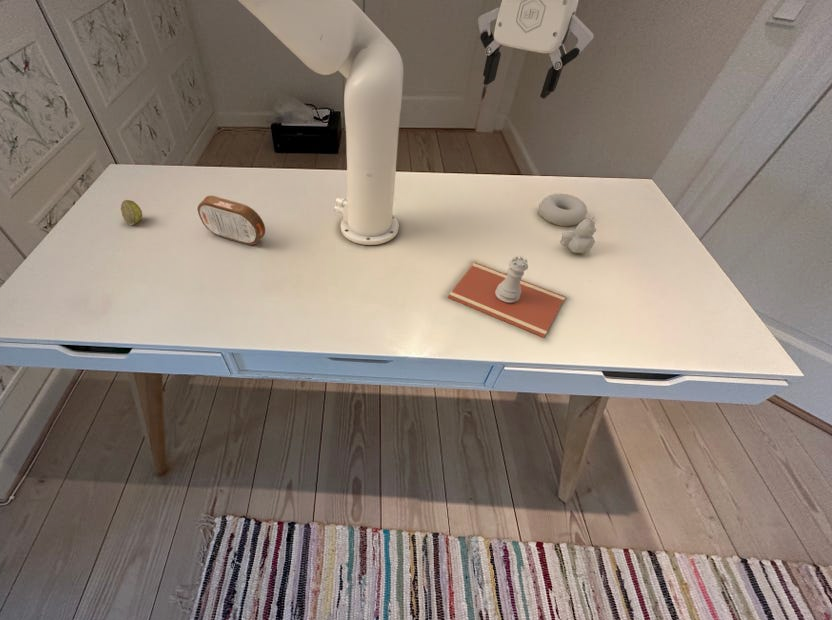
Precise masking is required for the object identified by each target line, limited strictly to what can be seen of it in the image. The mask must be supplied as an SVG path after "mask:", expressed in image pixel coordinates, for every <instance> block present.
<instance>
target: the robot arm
mask: <svg viewBox="0 0 832 620" xmlns="http://www.w3.org/2000/svg"><path fill="white" fill-rule="evenodd" d="M237 1H238V2H239V3H240V4H241V5H242V6H243V7H244V8H245V9H246V10H248V11H249V12H250V13H251V14H252V15H253V16H254V17H255V18H256V19H257V20H259V21H260V22H261V23H262V25H264V27H265V28H267V30H268V31H269V32H270V33H271V34H272V35H273V36H274V37H276V38H277V39H278V40H279V41H280V43H282V44H283V45H284V46H285V47H286V48H287V49H288V50H289V51H291V53H292V54H294V55H295V56H296V57H297V58H298V59H299V60H300V61H301V62H302V64H304V65H305V66H306V67H307V68H308V69H310V70H311V71H312V72H314V73H316V74H318V75H321V76H329V75H333V74H335V73H337V72H339V73H340V74H341V75H342V76H343V77H344V78H345V79H346V82H345V84H344V85H345V86H344V91H343V92H344V94H343V110H344V112H343V113H344V123H345V141H346V142H345V144H346V145H345V147H346V196H347V198H343V197H341V196H338V197H337V198H336V199H335V206H334V207H333V211H334V212H336V213H339V214H341V215H342V216H343V217H342V219H341V221H340V232H341V234H342V235H343V237H345V238H346V239H347V240H349V241H350V242H352V243H355V244H359V245H365V246H376V245H381V244H385V243H387V242H390V241H391V240H393V239H394V238H395V237H396V236H397V234H398V232H399V227H400V226H399V225H400V224H399V221H398V218H397V217H396V216H395V215H393V210H394V199H395V186H396V173H397V159H398V145H399V131H400V122H401V121H400V120H401V113H402V112H401V111H402V103H403V89H404V75H405V74H404V73H405V72H404V63H403V59H402V56H401V54H400V52H399V51H398V48H397V47H396V46H395V45H394V44H393V42H392V41H391V40H390V39H389V38H388V37H387V35H385V33H384V32H382V30H380V28H379V27H378V26H377V25H376V23H374V22H373V21H372V20H371V19H370V18H369V16H367V14H366V13H365V12H364V11H363V10H362V8H360V7H359V6H358V5H357V3H355V1H354V0H237ZM579 1H580V0H501V2H500V6H499V7H496V8H495V9H493V10H490V11H488V12H486V13H484V14H482V15H480V16H479V17H478V18H477V24H478V29H479V36H480V37H479V39H480V41H481V43H482V45H483V47H484V49H485V50H484V53H485V55H486V59H485V63H484V68H483V73H482V76H483V77H484V80H483V85H485V86H487V85H490V84H491V83H493V82H494V81H495V80H496V77H497V73H498V69H499V66H500V65H499V64H500V61H501V56H502V53H501V51H500V49H501V48H502V47H504V46H505V47H509V48H514V49H520V50H524V51H528V52H529V51H530V52H534V53H540V54H549V57H550V60H551V63H552V64H551V67H549V69H548V70H547V73H546V76H545V80H544V83H543V86H542V89H541V92H540V96H539V97H540V98H541V99H543V100H545V99H546V98H547V97H548V96H550V95H551V93H554V92H555V91H556V89H557V85H558V82H559V80H560V77H561V74H562V72H563V68H564V67H565V66H566V65H567V64H569V63H571V62H572V61H574V59H576V58H577V57H578V56H580V55H581V53H582V52H583V51H584V50H585V49H586V48H587V46H588V45H590V43H591V42H592V41H593V39H594V36H595V34H594V33H593V32H592V31H591V30H590V29H589V28H588V27H587V26H586V25H585V24H584V22H582V20H581V19H579V18H578V16H577V15H576V12H577V8H578V4H579ZM494 20H496V22H495V26H494V30H493V33H492V30H491V22H493V21H494ZM570 32H571V33H572V34H573V35H574V36H575V37H576V38H577V43H576V44H575V45H574V47H573V48H572V49H571V50H569V51H568V52H567V50H566V47H565V44H566V42H567V40H568V39H569V36H570Z"/></svg>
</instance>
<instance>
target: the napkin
mask: <svg viewBox="0 0 832 620" xmlns="http://www.w3.org/2000/svg"><path fill="white" fill-rule="evenodd" d="M507 274H508V273H504V272H503V271H502V272H501V271H499V270H496V269H493V268H491V267H489V266H486V265H483V264H480V263H477V262H473V263H472V265H471V266H470V268H469V269H468V270H467V271H466V273H465V274H464V275H463V276H462V277H461V279H460V281H459V282H458V283H456V285H455V287H454V288H453V289H452V290H451V291H450V292H449V294H448V295H447V298H448V299H450V300H453V301H455V302H456V303H459V304H462V305H464V306H466V307H469V308H470V309H471V308H472V309H473V310H477V311H479V312H481V313H483V314H486V315H488V316H490V317H492V318H495V319H498V320H500V321H501V322H505V323H507V324H509V325H512V326H514V327H516V328H519V329H521V330H524V331H526V332H528V333H530V334H533V335H536V336H538V337H540V338H542V339H544V338H545V337H546V335H547V333H548V331H549V330H550V327H551V326H552V323H553V321H554V320H555V318H556V316H557V313H558V312H559V310H560V308H561V307H562V305H563V302H564V301H565V299H566V296H565V295H563V294H560V293H557V292H555V291H552V290H550V289H547V288H544V287H542V286H539V285H537V284H533V283H531V282H528V281H526V280H523V279H521V281H520V287H521V294H520V298H519V300H517V301H516V302H513V303H505V302H502V301H501V300H499V299H498V298H497V296H496V294H495V291H496V289H497V287H498V285H499V284H500V283H502V281H504V280H505V278H506V276H507Z"/></svg>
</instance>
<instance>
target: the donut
mask: <svg viewBox="0 0 832 620" xmlns="http://www.w3.org/2000/svg"><path fill="white" fill-rule="evenodd" d="M538 210H539V214H540V215H541V217H542V218H543V219H544V220H546V221H547V222H549V223H551V224H553V225H557V226H562V227H563V226H564V227H571V226H575V225H578V224H579V223H580V222H581V221H583V220H585V219H586V217H587V214H588V207H587V205H586V203H585V202H584V201H583V200H581V199H580V198H578V197H576V196H574V195H572V194H568V193H553V194H549V195H547V196H545V197H544V198H542V200H541V201H540V203H539V205H538Z"/></svg>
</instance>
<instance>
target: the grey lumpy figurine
mask: <svg viewBox="0 0 832 620" xmlns="http://www.w3.org/2000/svg"><path fill="white" fill-rule="evenodd" d="M594 219H595V215H594V216H592V217H590V216H588V217H587V218H584V220H582V221H581V222H580V223H578V224H577V226H576V228H575V229H573V230H572V231H563V233H562V234H561V240H560V241H559V243H560V245H561V246H564V247H567V248H568V250H569V251H570V252H572V253H574V254H586V253H587V252H589V251H590V250H591V249H592V248H593V247H594V245H595V244H596V241H595V238H594V234H595V233H596V232H597V228H596V224H595V222H594Z"/></svg>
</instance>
